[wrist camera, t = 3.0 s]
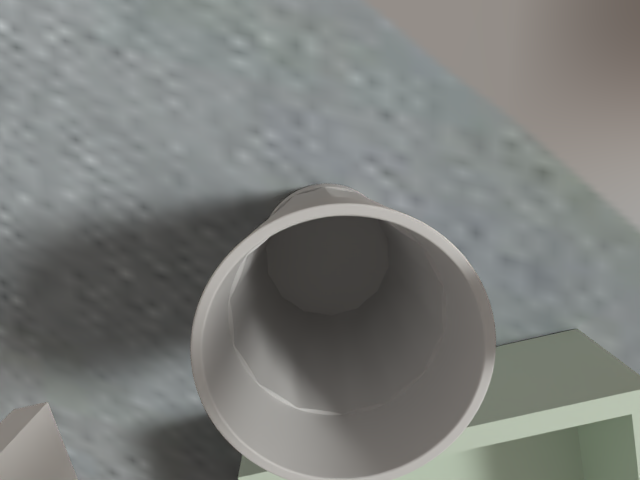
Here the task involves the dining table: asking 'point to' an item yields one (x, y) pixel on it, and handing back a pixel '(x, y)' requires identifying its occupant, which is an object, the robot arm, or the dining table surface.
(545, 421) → the tote
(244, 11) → the dining table surface
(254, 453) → the cup
